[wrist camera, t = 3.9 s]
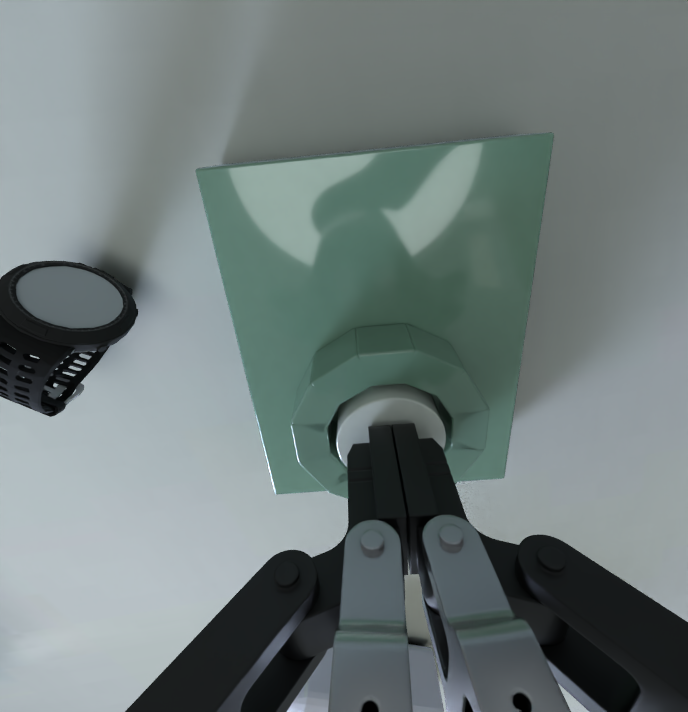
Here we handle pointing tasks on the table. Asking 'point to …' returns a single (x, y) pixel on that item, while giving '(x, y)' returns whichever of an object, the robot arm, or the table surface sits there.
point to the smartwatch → (57, 329)
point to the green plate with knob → (380, 290)
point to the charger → (425, 689)
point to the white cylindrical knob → (387, 415)
